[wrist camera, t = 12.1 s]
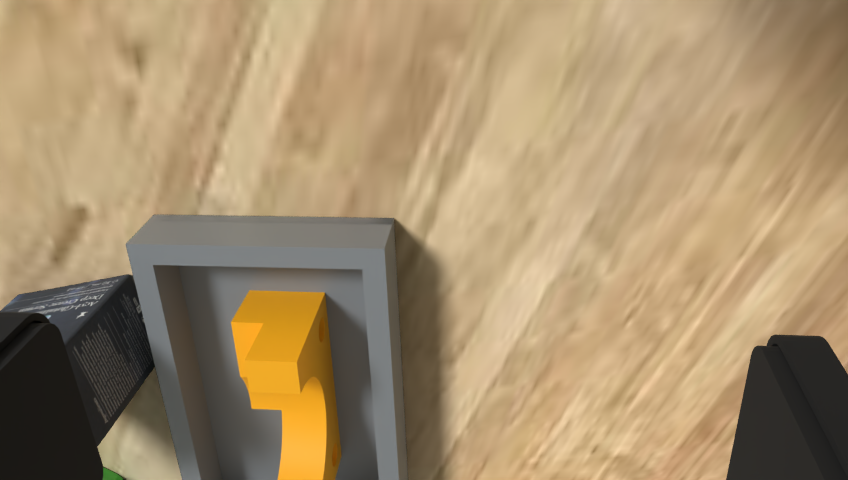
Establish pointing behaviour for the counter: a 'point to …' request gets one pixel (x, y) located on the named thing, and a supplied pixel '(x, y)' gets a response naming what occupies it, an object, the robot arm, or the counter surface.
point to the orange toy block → (292, 376)
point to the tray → (215, 349)
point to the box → (98, 342)
